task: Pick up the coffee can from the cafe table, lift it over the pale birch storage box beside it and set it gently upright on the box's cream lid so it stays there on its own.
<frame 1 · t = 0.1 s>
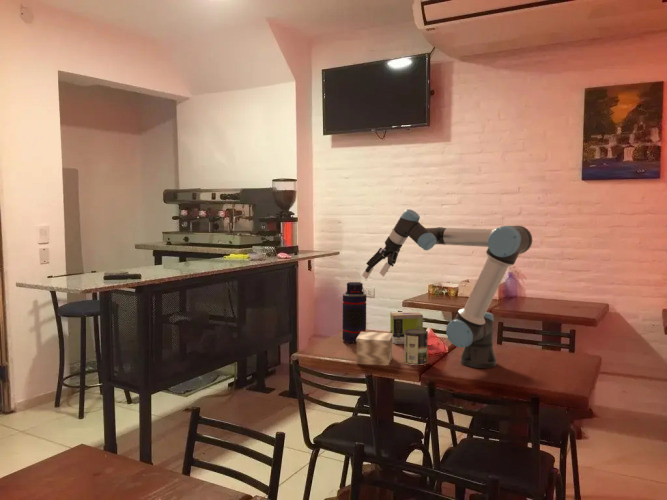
hand: (373, 275, 264), 36 cm above the table, tool tilted 35°, fingers open, 13 cm apart
tea box: (406, 342, 287), on the table
birch box: (374, 360, 251), on the table
red-striped thermos flask: (354, 341, 287), on the table
coffee can: (415, 363, 247), on the table
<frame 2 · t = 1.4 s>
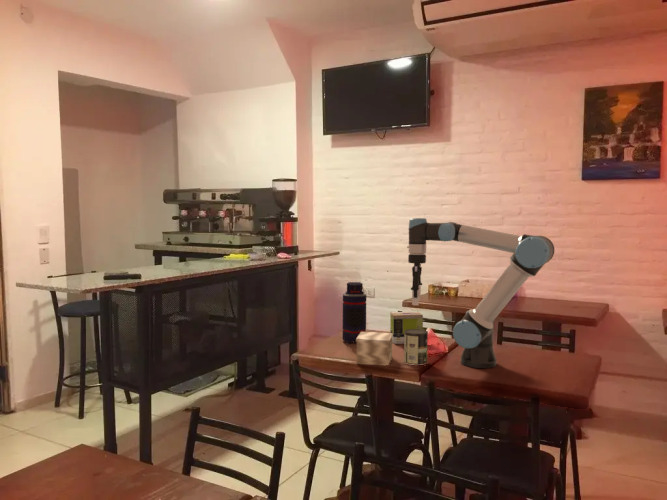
hand: (416, 302, 245), 27 cm above the table, tool pointing down, fingers open, 13 cm apart
nothing on the table moved.
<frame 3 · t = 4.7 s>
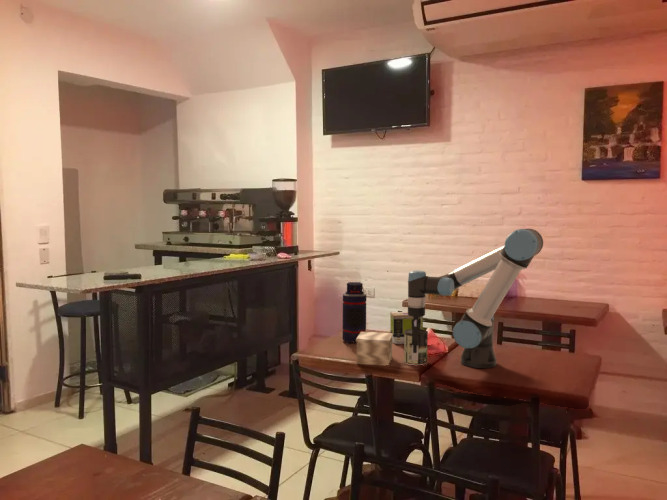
hand: (415, 356, 247), 3 cm above the table, tool pointing down, fingers closed on coffee can, 10 cm apart
coffee can: (415, 363, 247), on the table, touching gripper
everything else where it was.
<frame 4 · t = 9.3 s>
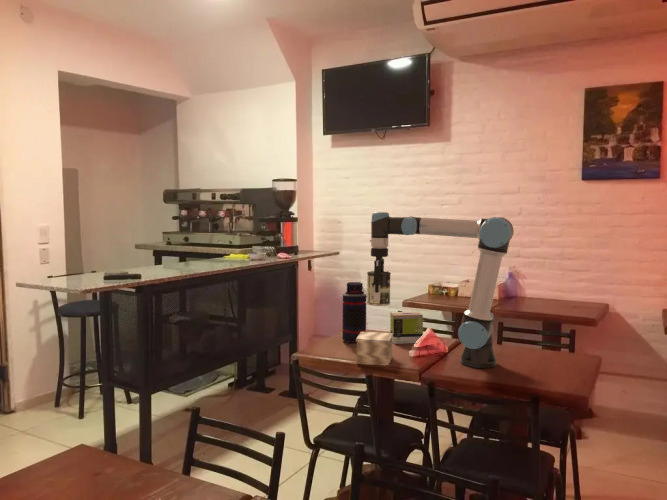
hand: (378, 297, 248), 28 cm above the table, tool pointing down, fingers closed on coffee can, 10 cm apart
coffee can: (378, 304, 249), point 25 cm above the table, touching gripper
everything else where it was.
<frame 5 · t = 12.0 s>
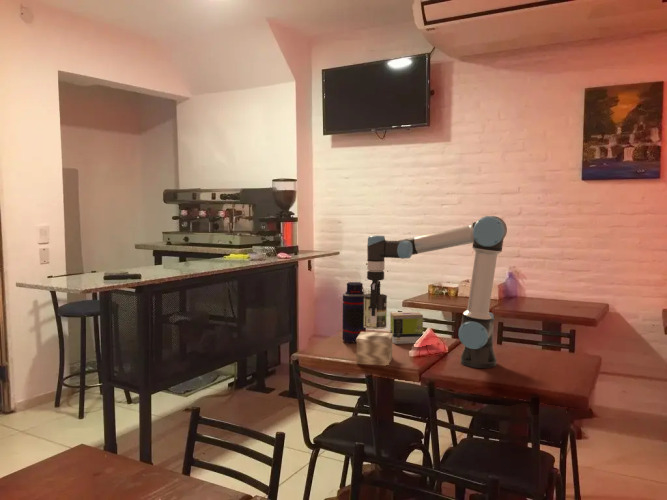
hand: (375, 320, 249), 18 cm above the table, tool pointing down, fingers closed on coffee can, 10 cm apart
coffee can: (374, 327, 250), point 15 cm above the table, touching gripper
everything else where it was.
when the fingers open (14 cm above the table, at t = 14.4 s): coffee can stays where it is, resting on birch box.
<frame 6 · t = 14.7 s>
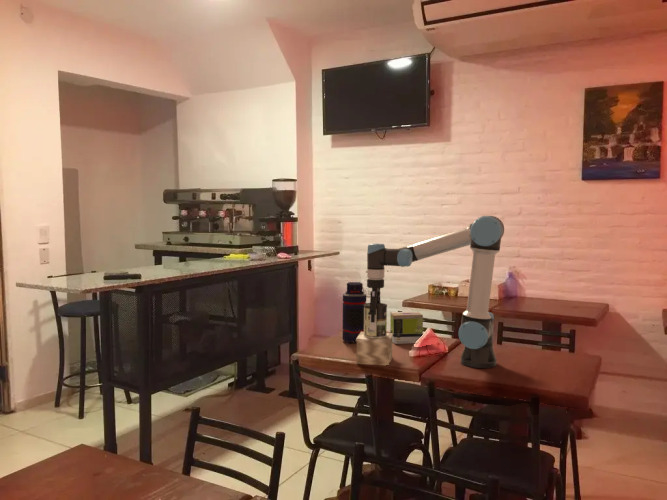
hand: (375, 326, 250), 15 cm above the table, tool pointing down, fingers open, 13 cm apart
coffee can: (374, 336, 250), point 11 cm above the table, touching birch box
everything else where it was.
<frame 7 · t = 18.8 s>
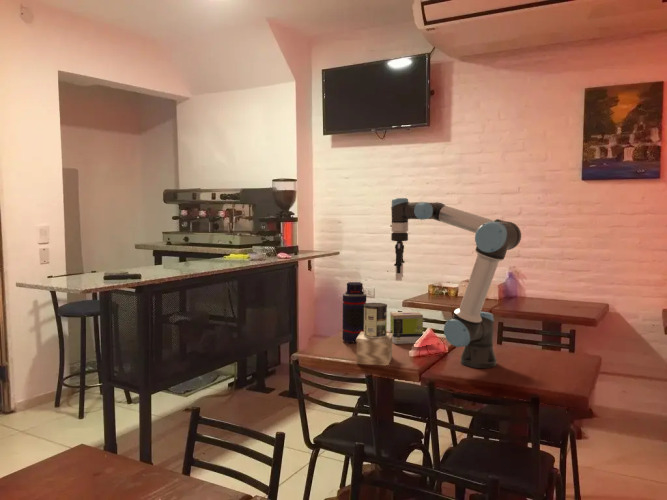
hand: (399, 278, 258), 35 cm above the table, tool pointing down, fingers open, 13 cm apart
nothing on the table moved.
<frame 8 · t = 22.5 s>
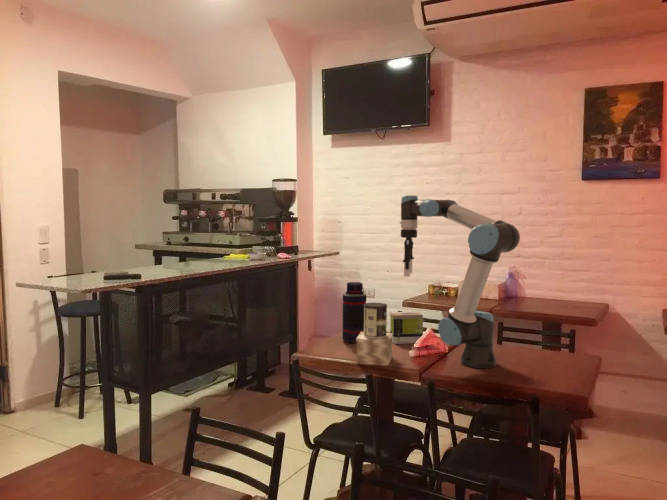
hand: (408, 274, 262), 37 cm above the table, tool pointing down, fingers open, 13 cm apart
nothing on the table moved.
at the end: coffee can inside the target area on the birch box (0.1 cm from its centre), point 10.8 cm above the birch box's base; coffee can tilted 0°; the gripper is holding nothing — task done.
